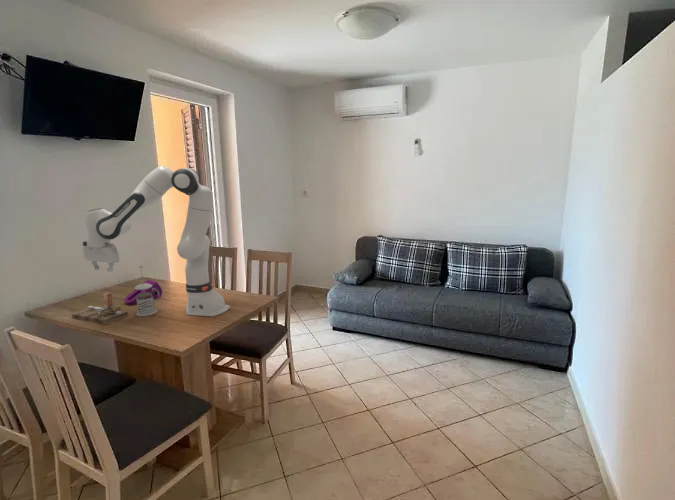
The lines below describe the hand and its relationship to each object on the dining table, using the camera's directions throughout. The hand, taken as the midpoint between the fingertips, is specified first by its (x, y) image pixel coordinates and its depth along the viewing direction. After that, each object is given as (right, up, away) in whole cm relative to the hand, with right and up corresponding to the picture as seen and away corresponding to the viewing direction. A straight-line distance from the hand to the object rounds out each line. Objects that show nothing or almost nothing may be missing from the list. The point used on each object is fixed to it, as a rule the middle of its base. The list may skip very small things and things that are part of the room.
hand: (103, 270), depth 185 cm
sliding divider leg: (0, -21, +3) cm, 21 cm away
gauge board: (-4, -23, +4) cm, 24 cm away
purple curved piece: (+5, -19, +28) cm, 34 cm away
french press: (+17, -22, +9) cm, 30 cm away
